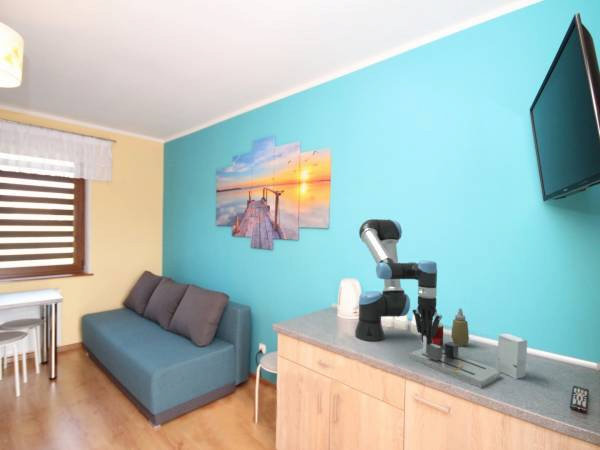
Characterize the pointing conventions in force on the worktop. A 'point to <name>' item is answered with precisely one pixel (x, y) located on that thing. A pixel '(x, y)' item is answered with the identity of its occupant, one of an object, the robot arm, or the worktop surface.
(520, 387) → the worktop surface
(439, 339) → the canned food
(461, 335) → the squeeze bottle
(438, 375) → the worktop surface
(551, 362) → the worktop surface
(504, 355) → the skincare box
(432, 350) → the fader
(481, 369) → the console
